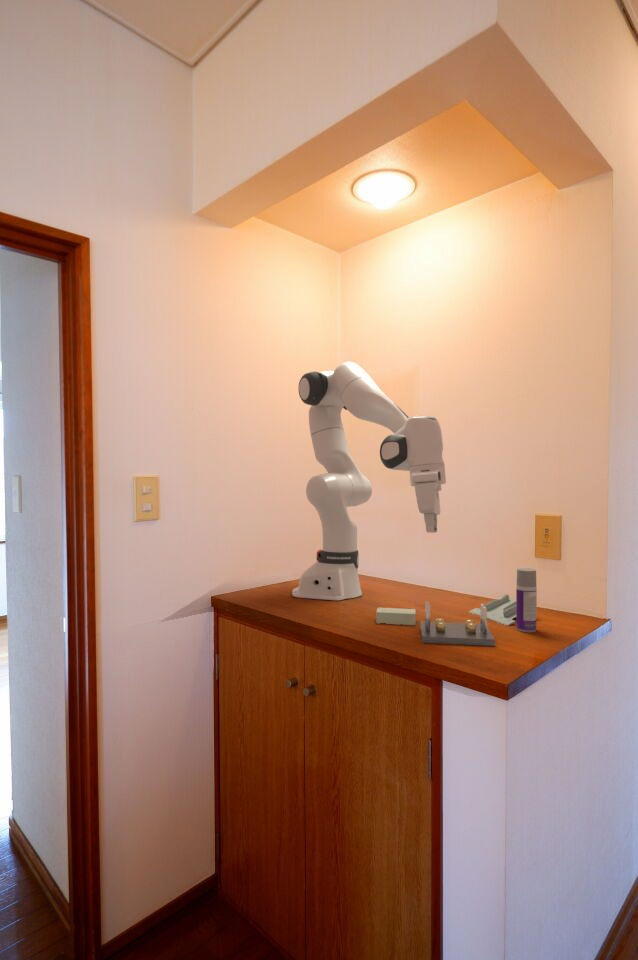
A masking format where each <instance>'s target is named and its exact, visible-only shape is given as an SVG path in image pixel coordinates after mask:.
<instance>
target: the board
mask: <svg viewBox="0 0 638 960" xmlns="http://www.w3.org/2000/svg"><path fill="white" fill-rule="evenodd" d="M375 613H376V614H375V615H376V619H375V620H376V624H380V623H386V624H385V625H401V624H402V626H406V625H407V626H416V622H417V621H416V608H400V607H399V608H397V607H395V608H394V607H377V609H376V612H375Z"/></svg>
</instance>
